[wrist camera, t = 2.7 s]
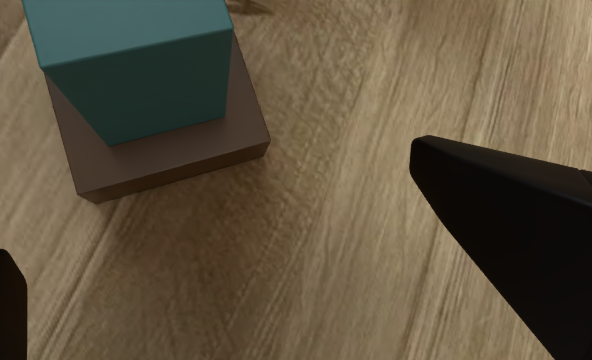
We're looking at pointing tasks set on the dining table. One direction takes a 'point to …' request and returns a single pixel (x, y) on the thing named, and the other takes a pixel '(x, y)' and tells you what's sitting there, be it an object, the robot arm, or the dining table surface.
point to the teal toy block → (135, 61)
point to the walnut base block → (163, 144)
